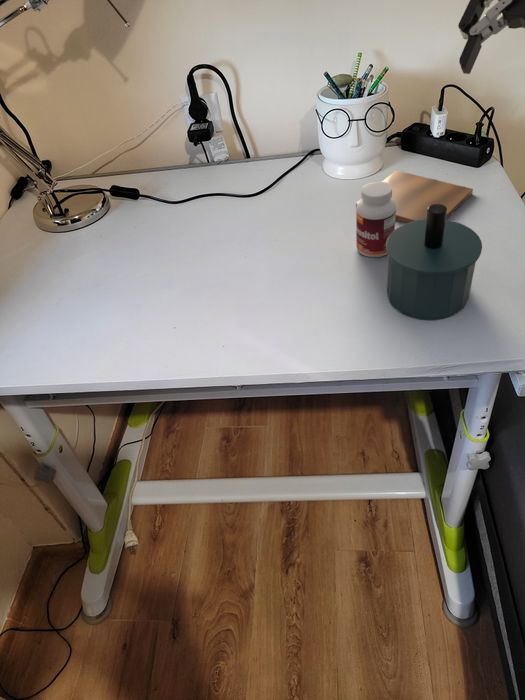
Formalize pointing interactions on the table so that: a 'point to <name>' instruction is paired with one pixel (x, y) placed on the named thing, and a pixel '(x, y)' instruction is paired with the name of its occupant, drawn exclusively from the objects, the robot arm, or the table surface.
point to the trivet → (423, 195)
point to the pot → (428, 292)
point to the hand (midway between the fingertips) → (497, 74)
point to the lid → (434, 244)
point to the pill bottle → (375, 218)
